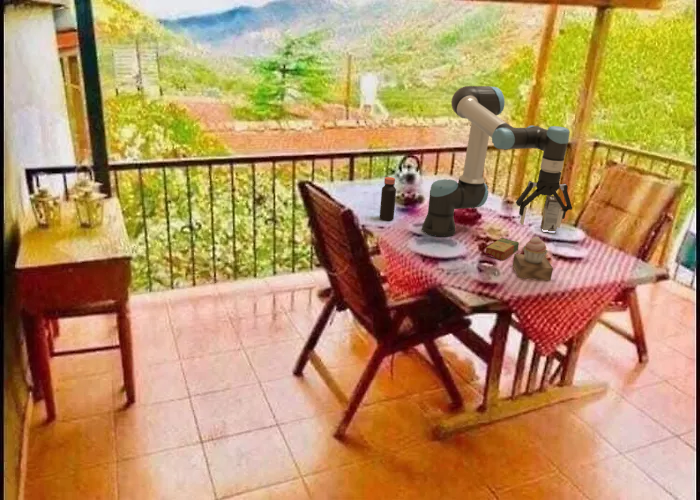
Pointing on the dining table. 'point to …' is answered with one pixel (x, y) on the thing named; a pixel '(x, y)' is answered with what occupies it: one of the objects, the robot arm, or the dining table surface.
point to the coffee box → (550, 213)
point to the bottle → (388, 200)
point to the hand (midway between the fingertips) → (539, 225)
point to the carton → (502, 248)
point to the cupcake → (535, 251)
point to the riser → (532, 268)
